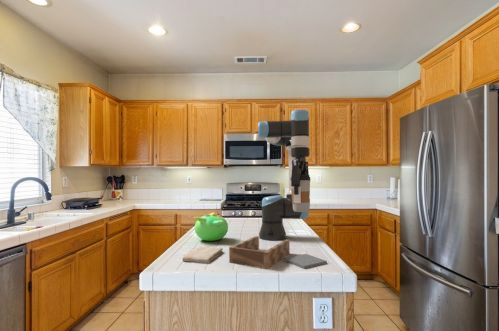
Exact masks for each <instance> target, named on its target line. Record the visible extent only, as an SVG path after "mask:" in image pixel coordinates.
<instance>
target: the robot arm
mask: <svg viewBox="0 0 499 331" xmlns="http://www.w3.org/2000/svg"><path fill="white" fill-rule="evenodd" d="M257 136H258V137H259V138H260V139H261V138H263V139H265V142H267V143H269V144H270V145H273V146H278V147H279V146H280V147H283V146H284V147H285V150H286V151H288V152H287V153H288V156H287V157H288V192H287V193H286V196H285V197H284V196H283V195H282V194H281V195H280V194H279V195H270V196H265V197H263V198H262V200H261V227H260V229H259V232H258V236H259V239H261V240H266V241H281V240H286V238H287V232H286V230H285V227H284V222H283V220H306V219H307V218H308V217H309V214H310V207H311V198H309V210H308V212H295V211H294V210H293V204H292V193H291V186H294V187H293V188H294V203H301V187H299V186H300V177H301V175H309V176H310V174H309V162H308V161H307V160H306V158H308V157H310V148H309V147H310V114H309V110H306V109H294V110H292V111H291V112H290V120H264V121H262V120H260V121H258V123H257ZM291 175H292V177H291ZM290 179H291V180H290Z"/></svg>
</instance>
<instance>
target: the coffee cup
mask: <svg viewBox="0 0 499 331" xmlns="http://www.w3.org/2000/svg"><path fill="white" fill-rule="evenodd" d="M291 177H292V175H291ZM290 180H291V179H290ZM310 186H311V177H310V174H309V175H301V177H300V186H299V187H301V203H294V188H293V187H294V186H291V193H292V204H293V210H294V211H295V212H308V210H309V211H310V208H309V198H310V197H311V196H310V195H311V189H310V188H311V187H310ZM310 199H311V198H310Z"/></svg>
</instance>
